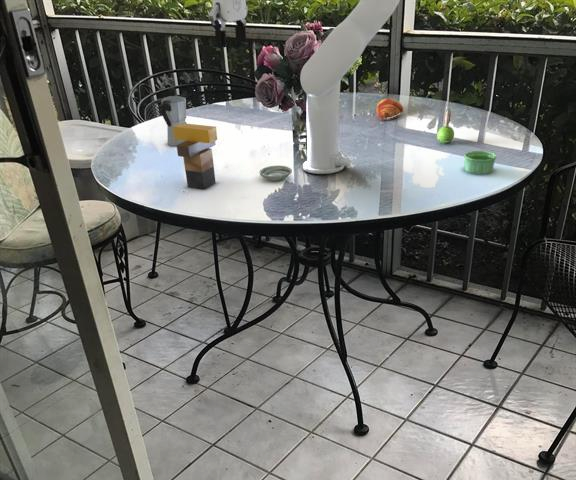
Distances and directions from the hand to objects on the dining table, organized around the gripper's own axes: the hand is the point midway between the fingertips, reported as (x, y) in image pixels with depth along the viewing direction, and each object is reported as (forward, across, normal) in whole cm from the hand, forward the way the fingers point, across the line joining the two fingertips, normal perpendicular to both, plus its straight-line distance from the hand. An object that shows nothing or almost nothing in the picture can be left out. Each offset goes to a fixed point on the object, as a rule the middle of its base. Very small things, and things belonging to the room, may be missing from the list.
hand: (231, 44), depth 173 cm
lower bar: (+24, -20, +1) cm, 31 cm away
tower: (+34, -20, +1) cm, 39 cm away
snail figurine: (+33, +46, -51) cm, 76 cm away
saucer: (+34, -6, -17) cm, 39 cm away
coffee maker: (+35, +12, +35) cm, 51 cm away
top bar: (+21, -20, +1) cm, 29 cm away
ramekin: (+33, +24, -69) cm, 80 cm away
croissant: (+34, +73, -20) cm, 83 cm away
